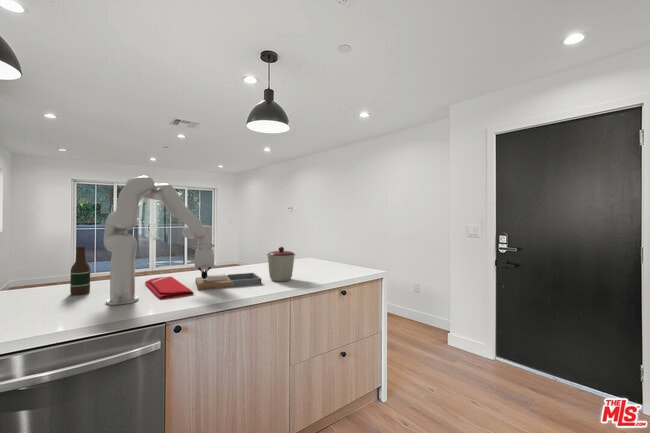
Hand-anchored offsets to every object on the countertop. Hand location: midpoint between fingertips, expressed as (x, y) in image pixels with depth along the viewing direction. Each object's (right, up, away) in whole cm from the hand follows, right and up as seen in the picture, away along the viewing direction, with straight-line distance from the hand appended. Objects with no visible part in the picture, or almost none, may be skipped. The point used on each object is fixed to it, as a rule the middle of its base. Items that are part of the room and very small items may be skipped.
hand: (204, 278), depth 174 cm
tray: (+20, -4, +10) cm, 22 cm away
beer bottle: (-54, -4, -21) cm, 58 cm away
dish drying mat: (-16, -5, -9) cm, 19 cm away
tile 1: (+4, -1, +2) cm, 4 cm away
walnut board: (+4, -4, +2) cm, 6 cm away
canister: (+42, -5, +18) cm, 45 cm away
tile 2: (+8, -1, +4) cm, 9 cm away
